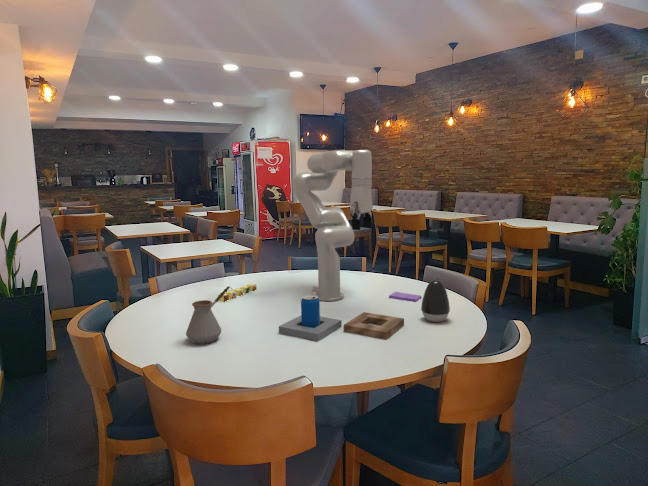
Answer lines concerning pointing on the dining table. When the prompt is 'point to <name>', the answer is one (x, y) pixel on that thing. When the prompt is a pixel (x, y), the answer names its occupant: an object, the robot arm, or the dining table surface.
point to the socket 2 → (363, 328)
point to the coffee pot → (204, 322)
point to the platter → (238, 292)
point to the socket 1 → (316, 333)
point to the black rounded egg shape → (435, 302)
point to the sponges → (405, 296)
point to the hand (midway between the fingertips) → (361, 228)
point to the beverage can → (310, 311)
